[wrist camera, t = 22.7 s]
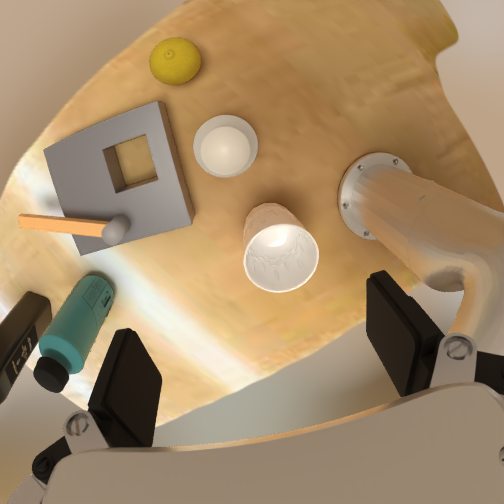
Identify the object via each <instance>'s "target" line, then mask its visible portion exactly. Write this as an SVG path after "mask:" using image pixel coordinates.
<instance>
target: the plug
mask: <svg viewBox="0 0 504 504" xmlns="http://www.w3.org/2000/svg"><path fill="white" fill-rule="evenodd" d="M193 150H194V155H195V158H196V160H197V162H198V164H199V165H200V166H201V167H202V168H203V169H204V170H205V171H206V172H208V173H209V174H212V175H214V176H217V177H233V176H236V175H239V174H241V173H243V172H244V171H246V170H247V169H248V168H249V167H250V166H251V165H252V163H253V162H254V160H255V158H256V155H257V151H258V140H257V136H256V134H255V132H254V130H253V128H252V127H251V126H250V125H249V124H248V123H247V122H246V121H245V120H243V119H241V118H239V117H236V116H232V115H220V116H216V117H213V118H211V119H209V120H208V121H206V122H205V123H204V124H203V125H202V126H201V127H200V128H199V130H198V131H197V133H196V135H195V138H194V143H193Z"/></svg>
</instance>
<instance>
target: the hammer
mask: <svg viewBox="0 0 504 504" xmlns="http://www.w3.org/2000/svg"><path fill="white" fill-rule="evenodd" d="M18 221H19V228H25V229H33V230H42V231H51V232H60V233H69V234H77V235H86V236H95V237H102V239H103V240H104V242H105V243H106V244H108V245H116V244H118V243H119V242H120V240H121V239H122V238H123V237H124V235H125V234H126V233H127V231H128V230H129V229H130V220H129V219H128V217H126V216H125V215H122V214H119V215H116V216H115V217H114V218H113V219H112V220H111V221H110V222H107V221H97V220H87V219H76V218H65V217H55V216H43V215H32V214H21V215H19V216H18Z"/></svg>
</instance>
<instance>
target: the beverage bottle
mask: <svg viewBox="0 0 504 504" xmlns="http://www.w3.org/2000/svg"><path fill="white" fill-rule="evenodd" d="M78 282H79V283H78V284H77V283H76V284H77V285H76V287H75V286H74V287H75V288H74V289H73V291H72V290H71V294H70V295H68V298H67V297H66V298H67V299H66V301H65V302H64V304H63V305H62V307H61V308H60V310H59V312H58V313H57V315H56V316H55V318H54V319H53V321H52V322H51V324H50V325H49V327H48V328H47V330H46V331H45V333H44V335H43V336H42V337H41V338H40V340H39V349H40V352H41V355H42V357H40V358H39V359H38V361H37V364H36V367H35V369H34V372H33V374H34V377H35V379H36V381H37V382H38V383H39V384H40V385H41V386H42V387H44V388H45V389H47V390H49V391H51V392H54V393H59V392H61V391H62V390H63V389H64V387H65V385H66V384H67V382H68V380H69V374H76V373H79V372H80V371H81V370H82V369H83V367H84V363H85V361H86V359H87V356H88V354H89V352H90V349H91V347H92V345H93V343H94V341H95V339H96V338H97V335H98V333H99V330H100V328H101V326H102V324H104V320H105V318H107V316H108V313H109V311H110V308H112V307H111V306H112V304H113V299H114V295H113V291H112V288H111V287H110V285H109V284H108V283H107V282H106V281H105V280H104V279H102V278H101V277H98V276H95V275H89V276H86V277H84V278H82V279H80V281H78Z"/></svg>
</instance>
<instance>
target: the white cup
mask: <svg viewBox="0 0 504 504" xmlns="http://www.w3.org/2000/svg"><path fill="white" fill-rule="evenodd" d="M243 258H244V268H245V272H246V274H247V276H248V277H249V279H250V280H251V281H252V282H253V283H254V284H255V285H256V286H258V287H259V288H261V289H263V290H266V291H269V292H287V291H291V290H294V289H296V288H298V287H300V286H301V285H303V284H304V283H305V282H307V281H308V280H309V279H310V277H311V276H312V275H313V273H314V272H315V270H316V268H317V265H318V261H319V250H318V246H317V243H316V241H315V239H314V238H313V236H312V235H311V234H310V233H309V232H308V231H307V229H306V228H305V227H304V226H303V225H302V224H301V222H300V221H299V220H298V219H297V218H296V217H295V216H294V215H293V214H292V213H290V212H289V211H288V210H287V208H286V207H284V206H281V205H279V204H277V203H263V204H261V205H259V206H257V207H255V208H253V209H252V210H251V212H250V213H249V214H248V215H247V217H246V220H245V224H244V232H243Z"/></svg>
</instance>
